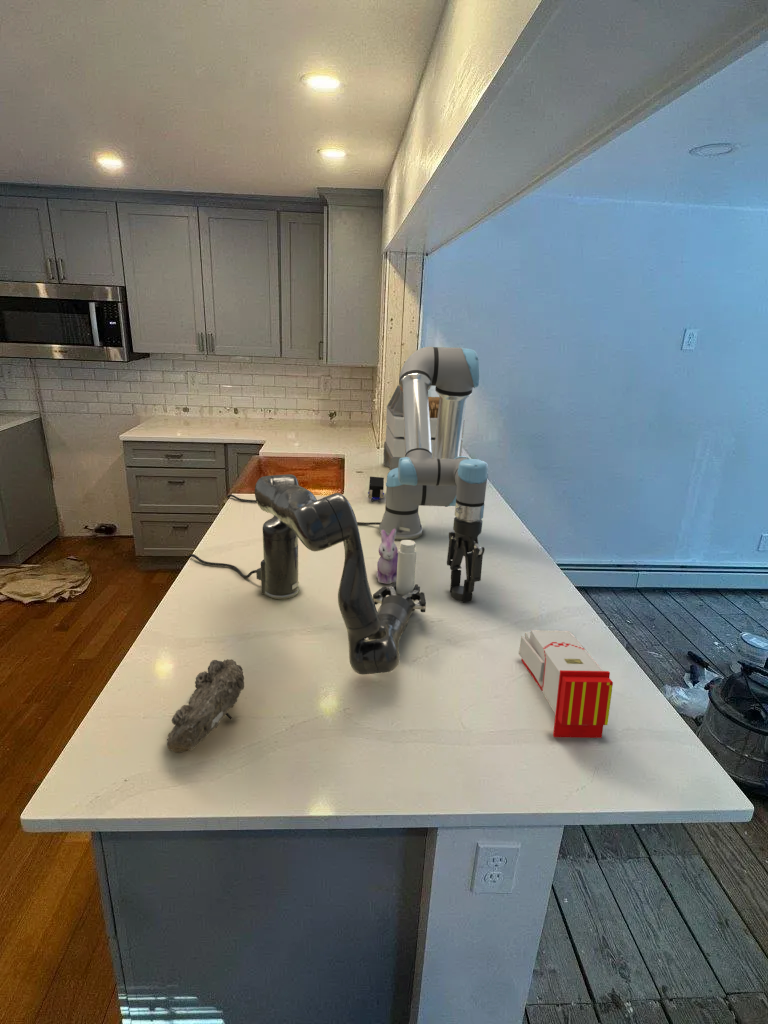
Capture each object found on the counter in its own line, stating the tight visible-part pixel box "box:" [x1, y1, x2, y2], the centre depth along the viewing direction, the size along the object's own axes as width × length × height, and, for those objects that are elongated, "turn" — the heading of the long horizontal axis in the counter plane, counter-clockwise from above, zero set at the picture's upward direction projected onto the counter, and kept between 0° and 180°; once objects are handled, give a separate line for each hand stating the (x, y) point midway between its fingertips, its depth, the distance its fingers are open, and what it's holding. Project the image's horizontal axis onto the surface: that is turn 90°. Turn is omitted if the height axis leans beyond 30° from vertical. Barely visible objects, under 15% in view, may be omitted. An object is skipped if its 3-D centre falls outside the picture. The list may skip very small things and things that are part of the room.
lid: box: [450, 585, 464, 602], centre depth 158 cm, size 5×5×2 cm
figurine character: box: [367, 476, 385, 503], centre depth 235 cm, size 7×8×15 cm
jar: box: [396, 539, 417, 615], centre depth 146 cm, size 5×5×20 cm
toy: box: [518, 629, 614, 739], centre depth 118 cm, size 12×13×30 cm
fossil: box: [166, 658, 245, 754], centre depth 106 cm, size 22×10×15 cm
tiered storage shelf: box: [383, 384, 465, 471], centre depth 268 cm, size 34×33×41 cm
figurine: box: [375, 529, 399, 585], centre depth 164 cm, size 9×10×15 cm
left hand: (406, 586), depth 149 cm, fingers closed on jar, 4 cm apart
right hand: (460, 596), depth 158 cm, fingers open, 5 cm apart
